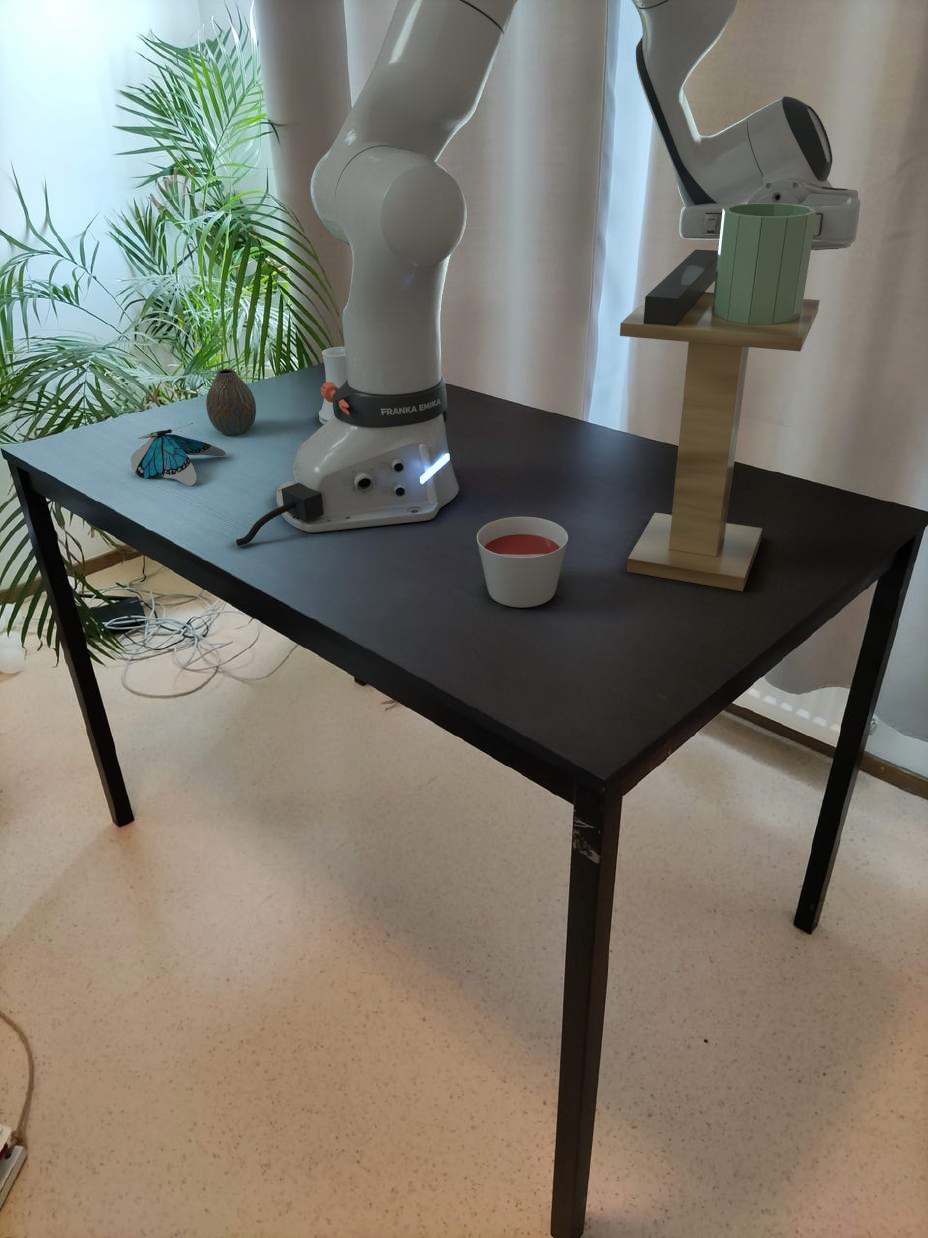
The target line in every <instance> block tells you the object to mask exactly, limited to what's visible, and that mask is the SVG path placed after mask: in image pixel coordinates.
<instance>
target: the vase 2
mask: <svg viewBox="0 0 928 1238" xmlns="http://www.w3.org/2000/svg"><path fill="white" fill-rule="evenodd" d="M321 355H322V359H323V364H324V372H325V383H326V382H332V383H334V385H336V387H337V388H338V389H339V388H340V387H341V386H342V385H343V384H344V383H345V382H346V380H347V369H346V358H345V347H344V346H335V347H328V348H326V349H323V350H322V351H321ZM318 416H319V418H318V420H319V422H320V423H321V424H322V425H324V424H325V423H326V422H327V421H328V420H329V419H330V418H331V417H332V416H334V411H333V402H332V403H331V402H328V401H327V400H326V399H325V398H324V397H323V403H322V407H321V409H320V410H319V411H318Z"/></svg>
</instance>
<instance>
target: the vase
mask: <svg viewBox="0 0 928 1238" xmlns="http://www.w3.org/2000/svg"><path fill="white" fill-rule="evenodd" d="M214 378H215V379H214V380H213V382H212V384H211V386H209V389H208V391H207V394H206V402H205V405H206V413H207V417H208V419H209V421H210V423H211V425H212V426H213V428H215V430H216V431H218V432H219V433H220V434H223V435H225V436H237V435H238V436H239V435H243V434H245V433H247V432H248V431H249V430H250V429H251V428H252V427H253V425H254V423H255V421H256V417H257V404H256V399H255V397H254V395H253V392H252V390H251V389H250V387H249V386H248V385H247V384H246V382H244V380H243V379H241V377H239V375H238V374H237V372H236V370H235V369H233V368H223V369H220V370H218V371H217V373H216V376H215V377H214Z"/></svg>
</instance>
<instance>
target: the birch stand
mask: <svg viewBox="0 0 928 1238" xmlns="http://www.w3.org/2000/svg"><path fill="white" fill-rule="evenodd" d="M713 297H714V292H710V291H709V292H708V291H706V292H705V293H704V294H703V295H702V296H701V297H700V298H699V300H698V301H697V302H696V303H695V304H694V305H693V306H692V308H691V309H690V310H689V311H688V312H687V313H686V315H685V316H684V317H683V318H682V319H681V320H680V321H679V323H678V324H677V325H676V326H673V325H661V324H649V323H644V308H645V299H644V300H643V301H642V302H641V303H640V304H639V305H637V307H636V308H634V309H633V310H632V311H631V313H629V314H628V315H627V316H626V317H625V318H624V319H623V320H622V321H621V322H620V325H619V336H620V337H626V338H639V339H648V340H649V339H650V340H661V341H673V342H685V343H687V344H688V345H687V353H686V365H685V375H684V386H683V396H682V405H681V416H680V426H679V436H678V437H679V438H678V448H677V459H676V467H675V479H674V489H673V499H672V508H671V509H672V511H671V514H668V513H660V512H654V514H653V515H652V517H651V519H650V520H649V522H648V524H647V525H646V527H645V529H644V531H643V532H642V534H641V536H640V537H639V539H638V540H637V542H636V544H635V545H634V547H633V549H632V551H631V552H630V554H629V556H628V557H627V562H626V563H627V565H626V572H627V573H633V574H638V575H645V576H651V577H656V578H661V579H669V580H673V581H680V582H685V583H691V584H697V585H703V586H708V587H715V588H720V589H727V590H732V591H737V592H744V589H745V586H746V585H747V581H748V578H749V576H750V575H749V574H750V572H751V570H752V567H753V564H754V562H755V558H756V555H757V553H758V551H759V548H760V544H761V542H762V536H763V530H764V529H763V528H762V527H756V526H749V525H742V524H736V523H729V522H727V521H728V515H729V506H730V498H731V491H732V483H733V474H734V466H735V459H736V451H737V445H738V444H737V443H738V436H739V430H740V429H739V428H740V421H741V413H742V406H743V405H742V404H743V397H744V390H745V382H746V374H747V366H748V358H749V352H750V348H754V349H765V350H766V349H767V350H779V351H789V352H790V351H791V352H801V351H802V350H803V347H804V345H805V342H806V340H807V338H808V335H809V333H810V331H811V329H812V327H813V324H814V322H815V319H816V317H817V315H818V312H819V307H820V301H821V300H820V299H813V298H812V299H811V298H803V305H802V311H801V316H800V317H799V318H797V319H796V320H794V321H791V322H786V323H779V324H744V323H738V322H731V321H726V320H724V319H721V318H719V317H716V316H714V314H713V311H712V306H713Z"/></svg>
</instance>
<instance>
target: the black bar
mask: <svg viewBox="0 0 928 1238" xmlns="http://www.w3.org/2000/svg"><path fill="white" fill-rule="evenodd" d="M717 259H718V250H712V249H694V250H693V251H692V252H691V253H690V254H689V255H688V256H687V257H685V258H684V260H682V261H681V262H680V263H679V264H678V265H677V266H676V267H675V268H674V269H673V270H672V271H671V272H669V274H667V275H666V276H665V277H664V278H663V279H662V280H661V281H660V282H659V283H658V284H657V285H655V287H654V288H653V289H651V291H649V292H648V293H647V294H646V295H645V297H644V300H645V308H644V323H649V324H661V325H673V326H676V325H677V324H678V323H679V321H680V320H681V319H682V318H683V317H684V316H685V315H686V313H687V312H688V311H689V310H690V309H691V308H692V306H693V305H694V304H695V303H696V302H697V301H698V300H699V298H700V297H701V296H702V295H703V294H704V293H705V292H707V290H708V289H710V287H711V286H712V285H713V284H714V283H715V278H716V269H717Z"/></svg>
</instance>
